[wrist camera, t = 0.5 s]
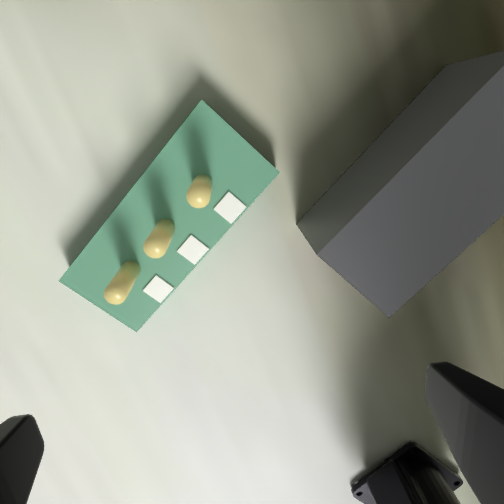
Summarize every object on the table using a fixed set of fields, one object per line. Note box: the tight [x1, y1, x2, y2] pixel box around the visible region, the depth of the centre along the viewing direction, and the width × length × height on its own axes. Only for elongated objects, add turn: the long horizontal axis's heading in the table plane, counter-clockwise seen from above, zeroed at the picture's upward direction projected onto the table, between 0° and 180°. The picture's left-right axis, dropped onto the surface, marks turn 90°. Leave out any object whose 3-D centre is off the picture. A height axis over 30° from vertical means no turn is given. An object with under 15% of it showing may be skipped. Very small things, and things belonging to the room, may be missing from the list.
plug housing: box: [296, 51, 504, 317], centre depth 18 cm, size 5×11×5 cm, turn 138°
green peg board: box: [59, 100, 280, 332], centre depth 18 cm, size 5×12×4 cm, turn 138°
